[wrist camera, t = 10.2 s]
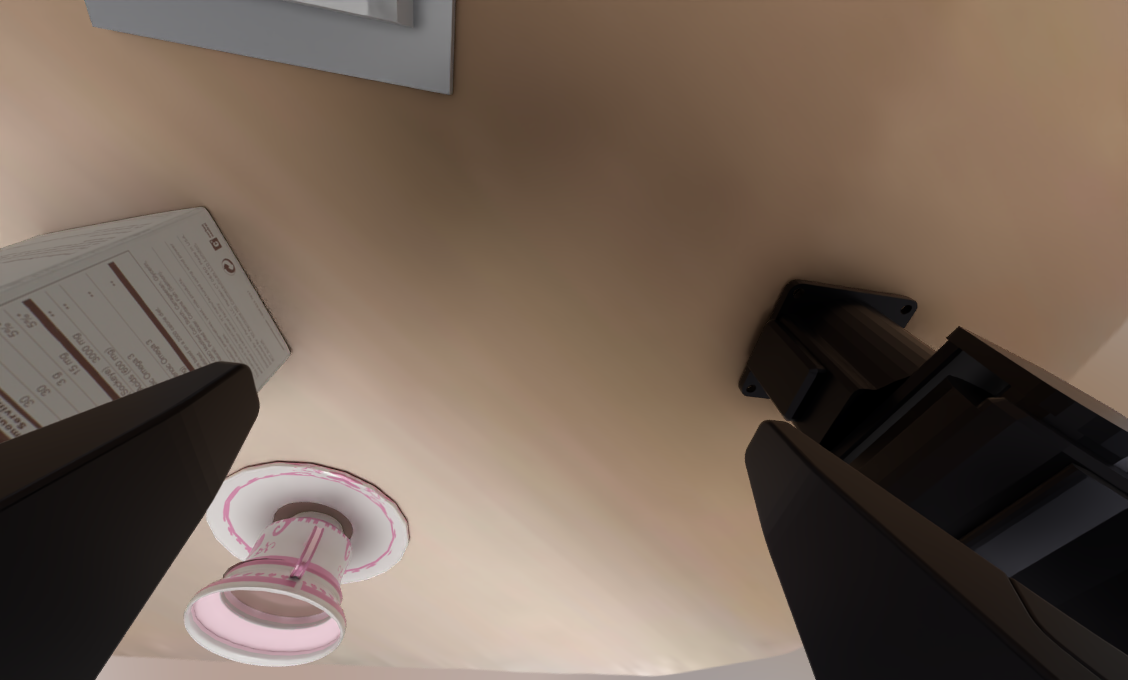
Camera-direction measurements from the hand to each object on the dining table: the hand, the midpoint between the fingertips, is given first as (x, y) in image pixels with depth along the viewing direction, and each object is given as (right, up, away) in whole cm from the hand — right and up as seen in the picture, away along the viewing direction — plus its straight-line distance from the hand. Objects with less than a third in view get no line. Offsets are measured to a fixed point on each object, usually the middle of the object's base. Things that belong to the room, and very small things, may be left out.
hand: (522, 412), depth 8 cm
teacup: (-15, -10, +20) cm, 27 cm away
